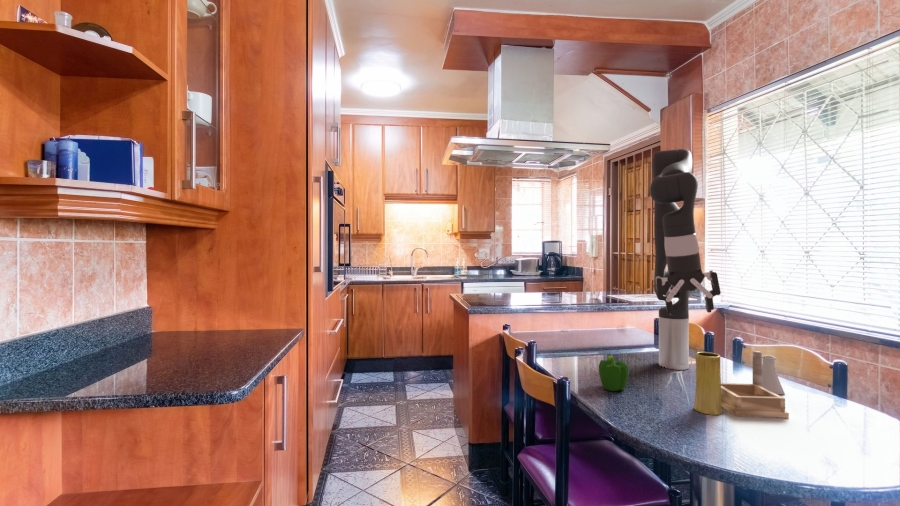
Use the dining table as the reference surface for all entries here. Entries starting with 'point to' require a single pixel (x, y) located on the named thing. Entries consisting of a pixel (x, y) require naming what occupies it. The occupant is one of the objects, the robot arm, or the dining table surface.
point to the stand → (752, 396)
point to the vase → (708, 384)
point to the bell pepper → (613, 374)
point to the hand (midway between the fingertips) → (690, 313)
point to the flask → (770, 376)
